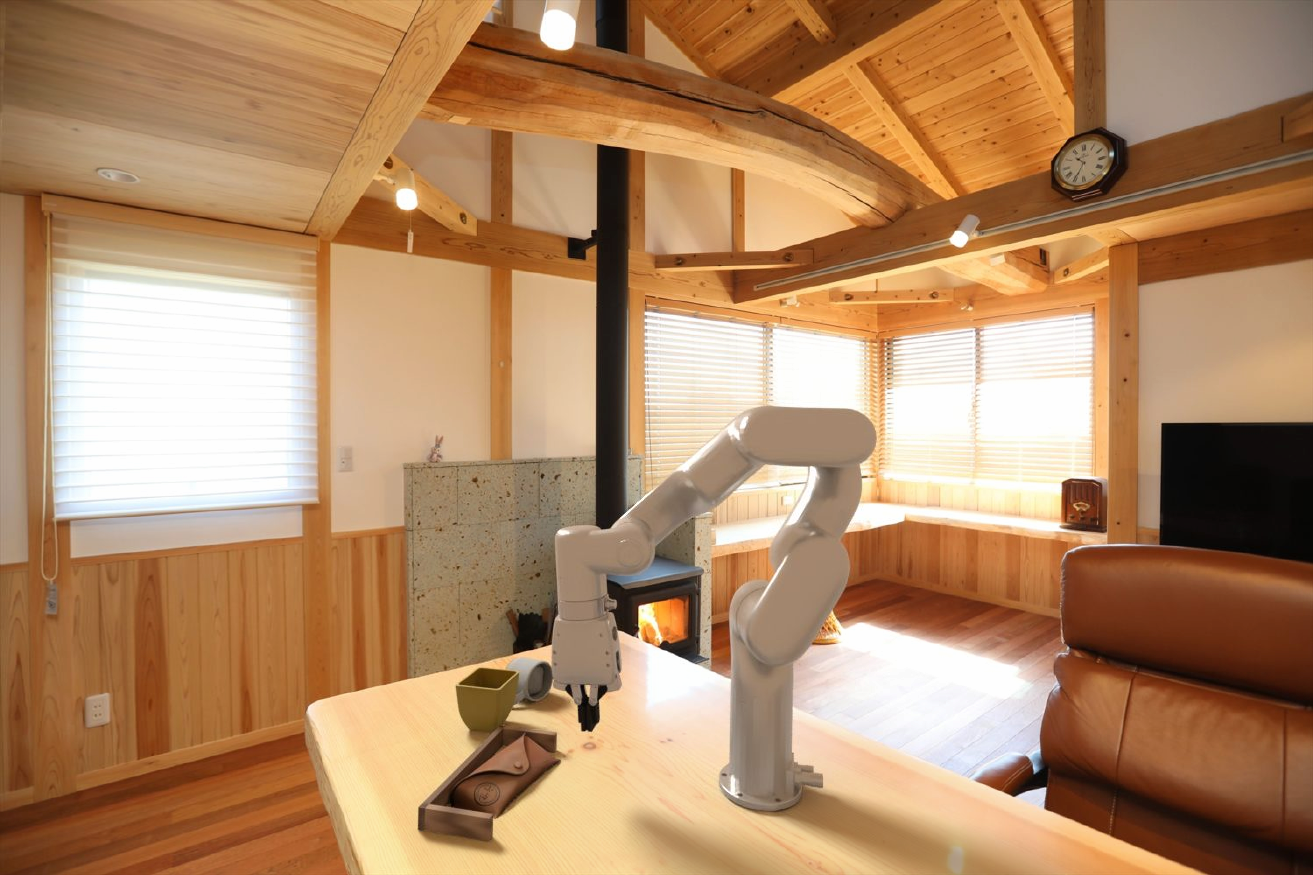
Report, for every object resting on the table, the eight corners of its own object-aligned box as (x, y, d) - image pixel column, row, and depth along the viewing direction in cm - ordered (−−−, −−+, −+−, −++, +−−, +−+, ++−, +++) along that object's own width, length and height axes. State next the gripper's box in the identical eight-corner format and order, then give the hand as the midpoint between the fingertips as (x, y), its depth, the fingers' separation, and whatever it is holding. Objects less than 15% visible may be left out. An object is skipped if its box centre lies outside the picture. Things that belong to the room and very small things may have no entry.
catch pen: (556, 749, 102) (556, 732, 102) (489, 841, 78) (489, 818, 78) (499, 742, 104) (500, 725, 104) (417, 829, 80) (418, 807, 80)
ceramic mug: (526, 684, 129) (526, 648, 129) (554, 693, 124) (554, 657, 124) (487, 702, 120) (487, 664, 120) (515, 713, 115) (516, 674, 115)
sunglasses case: (497, 821, 82) (478, 774, 84) (461, 835, 84) (443, 789, 86) (564, 758, 99) (547, 719, 100) (532, 771, 101) (517, 734, 103)
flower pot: (498, 740, 105) (499, 689, 105) (453, 734, 106) (454, 684, 106) (519, 717, 113) (520, 670, 113) (477, 712, 115) (478, 666, 115)
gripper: (636, 600, 93) (642, 717, 93) (546, 600, 96) (552, 714, 96) (624, 615, 86) (631, 742, 85) (527, 614, 88) (533, 737, 88)
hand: (589, 727), depth 91 cm, fingers closed
